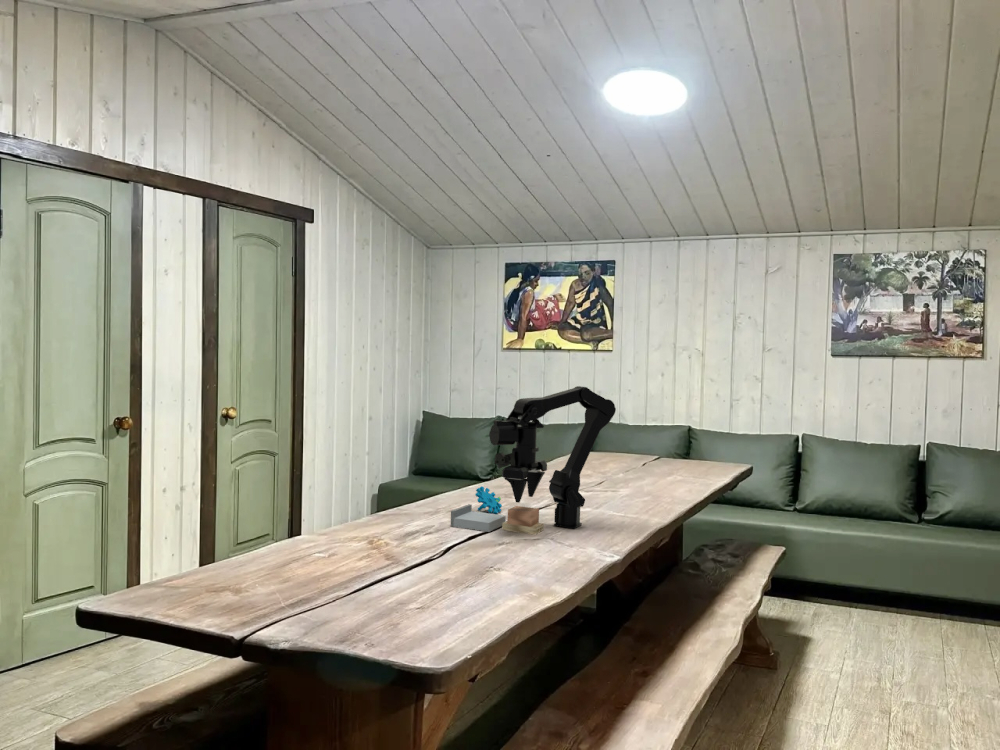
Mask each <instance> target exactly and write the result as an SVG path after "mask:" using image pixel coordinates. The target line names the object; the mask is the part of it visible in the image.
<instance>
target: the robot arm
mask: <svg viewBox="0 0 1000 750" xmlns="http://www.w3.org/2000/svg"><path fill="white" fill-rule="evenodd" d="M576 403H579V404H580V406H581V407H583V408H584V409H585V412H584V425H583V427H582V429H581V431H580V434H579V436H578V438H577V439H576V442H575V444H574V446H573V448H572V451H571V452H570V455H569V457H568V458H567V459H568V460H567V462H566V463H565V465H564V467H563V468H562V469H561V470H558V469H554V471H553V474H552V476H551V479H550V480H549V481H548V483H549V486H548V490H549V493H550V495H551V496H552V499H553V502H554V503H556V508H554V517H553V518H554V520H553V521H554V523H553V526H555V527H558V528H559V527H562V528H568V529H576V528H578V527H580V526H582V524H583V523H582V522H581V507H582V508H583V507H584V506H585V502H586V498H584V496H583V495H582V493H580V492H579V490H580V487H581V473H582V472H583V471H582V470H583V468H584V467H585V464H586V462H587V460H588V457H589V456H590V453H591V451H592V449H593V447H594V445H595V442H596V441H597V438H598V436H599V434H600V433H601V430H602V429H604V428H605V427H606V426H608V425H609V423H610V422H611V420H612V419H613V417H614V416H615V414H616V411H617V410H616V409H617V408H616V406H615V403H614V401H613V400H611V399H609V398H605V397H603V396H601V395H600V394H598V393H596V392H594V391H592V390H591V389H590V388H588V387H587V386H582V385H581V386H580V385H578V386H575V387H573V388H570V389H566V390H562V391H559V392H556V393H553V394H549V395H546V396H542V397H541V396H540V397H526V398H520V399H517V400H515V403H514V405H513V409H512V410H511V412H510V413H509V414H508V416H507V418H506V419H505V420H498V419H495V420H493V424H492V426H490V430H489V441H490V443H491V445H493V446H510V445H511V446H512V445H515V447H512V450H511V452H509V453H507V454H505V452H498V453H496V454H495V457H494V464H495V465H497V468H498V469H501V468H503V469H502V470H501V471H502V472H501V478H503V479H504V480H505V481H506V482H508V483H509V484H510V486H511V488H512V494H513V497H514V501H515V503H521V500H522V498H523V494H524V492H525V488H526V486H527V494H528V497H529V498H533V497H534V495H535V492H536V490H537V489H538V486H539V485H540V483H541V481H542V479H543V476H544V475H545V474H546V471H547V470H548V464H547V462H546V460H543V459H542V460H541V459H537V452H539V447H537V434H538V433H537V432H538V431H537V429H543V428H545V425H543V423H541V422H540V420H539V419H540V418H542V417H543V416H545V415H546V414H547V413H548V412H551V411H553V410H557V409H560V408H563V407H566V406H569V405H574V404H576Z"/></svg>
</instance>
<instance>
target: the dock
mask: <svg viewBox="0 0 1000 750" xmlns="http://www.w3.org/2000/svg"><path fill="white" fill-rule="evenodd" d="M472 507H473V505H472V504H469V503H468V504H465V505H463V506H460V507H458V508H455V509H452V510H450V525H449V526H450V527H451V526H452V527H451V528H458V527H459V528H460V529H465V528H469V529H468V530H472V529H475V530H474V531H479V530H481V532H486V533H487V532H488V533H490V532H491V531H494V530H496V529H498V528H502V523H504V522H506V518H507V516H506V515H505V514H504V515H502V514H498V513H497V514H494V513H489V512H488V513H487V512H480V511H473V509H472ZM459 528H458V529H459Z"/></svg>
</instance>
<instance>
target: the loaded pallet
mask: <svg viewBox="0 0 1000 750" xmlns="http://www.w3.org/2000/svg"><path fill="white" fill-rule="evenodd" d="M539 521H540V508H536V507H535V508H534V507H527V506H520V505H514V506H513V507H510V508H508V509H507V520H505V522H504V523H502V526H501V530H502V531H508V532H515V533H522V534H529V535H530V534H531V535H537V534H539V533H541V532H543V531H544V528H545V527H544V526H545V525H544V522H543V523H542V522H539Z"/></svg>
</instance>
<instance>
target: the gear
mask: <svg viewBox="0 0 1000 750" xmlns="http://www.w3.org/2000/svg"><path fill="white" fill-rule="evenodd" d="M475 491H476V492H475V497H477V499H476V500H477V502H478V503H482V504H481V505H480V506H479V507H477V512H480V511H482V510H483V509H484V510H485V509H486V508H488V509H487V512H488V513H489V514H497V515H498V513H500V512H502V507H503V506H502V505H503V504H502V503H500V502H501V499H502V498H501V497H500V496H498V497H495V496H496V493H495V491H492V492H491V493H489V492H490V491H491V490H490V489H489V488H488V487H486V488H485V486H482V485H481V486H480V487H477V488H476V489H475Z"/></svg>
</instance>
